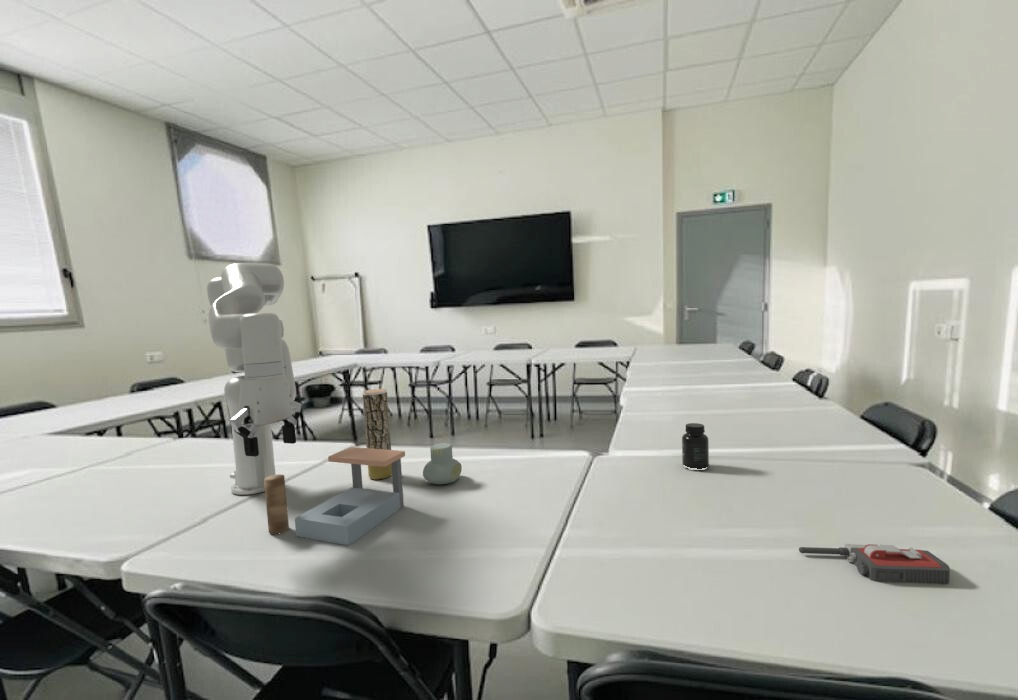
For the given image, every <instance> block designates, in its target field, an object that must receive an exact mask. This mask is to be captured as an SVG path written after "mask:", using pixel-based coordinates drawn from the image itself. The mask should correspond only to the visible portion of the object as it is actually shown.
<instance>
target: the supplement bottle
mask: <svg viewBox="0 0 1018 700" xmlns="http://www.w3.org/2000/svg"><path fill="white" fill-rule="evenodd" d="M709 442H710V441H709V437H708V436H707V435H706V434H705V425H704V424H702V423H698V422H697V423H696V422H691V423H689V422H688V423H686V424H685V433H684V434H683V435H682V437H681V452H682V453H681V456H682V458H681V459H682V466H683V465H685V466H687V467H690V468H697V469H702V468H706V467H708V466H709V467H710V455H709V454H710V452H709V449H710V448H709V446H710V445H709Z"/></svg>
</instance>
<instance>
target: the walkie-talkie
mask: <svg viewBox="0 0 1018 700" xmlns="http://www.w3.org/2000/svg"><path fill="white" fill-rule="evenodd" d="M798 552H799V553H800V554H812V555H813V554H814V555H815V554H816V555H817V554H818V555H840V556H846V558H847V562H848V563H851V564H853V565H854V566H855V567H856V569H857V571H858V573H859V574H860V575H861V576H866V577H867V579H869V580H870V581H872V582H875V583H876V582H879V583H880V582H881V583H904V584H906V583H908V584H914V583H915V584H927V585H928V584H932V585H937V584H938V585H948V584H949V583H950V571H951V569H950V566H949V564H947V563H946V562H944V561H943V560H942V559H940V558H939V557H937V556H936V555H934V553H931V551H929V550H924V549H916V548H914V547H909V548H908V549H907V548H905V549H904V548H898V547H897V546H895V545H893V544H880V545H878V544H874V543H873V544H871V543H870V544H853V543H852V544H851V543H845V544H844V547H842V546H840V547H838V548H837V547H814V546H813V547H812V546H811V547H810V546H806V547H804V546H800V547H799V548H798Z"/></svg>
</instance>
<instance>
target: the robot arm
mask: <svg viewBox="0 0 1018 700" xmlns="http://www.w3.org/2000/svg"><path fill="white" fill-rule="evenodd" d="M284 286H285V280H284V275H283V273H282V271H281V269H280V268H279V267H278V266H277V265H275V264H272V263H255V262H254V263H253V262H250V263H249V262H246V263H245V262H239V263H238V262H237V263H232V264H228V265H226V267H224V268H223V270H222V271H221V274H220V276H218V277H214V278H213V279H210V280H209V281H208V283H207V285H206V292H207V297H208V302H209V305H210V308H209V312H208V325H209V330H210V331H209V332H210V336H211V339H212V341H213V343H214V344H215V346H216V347H218V348H220V349H224V351H225V357H226V358H225V359H226V363H227V366H228V368H229V369H230V370H231V371H232V372H234V373H244V375H238V376H234V377H232V378H230V379H229V380H227V382H226V383H225V386H224V391H223V392H224V398H225V402H226V404H227V408H228V412H229V417H230V419H229V424H230V425H231V432H232V441H233V443H232V444H233V452H234V453H233V454H234V462H235V464H234V465H235V470H234V472H232V473H230V474H229V478H230V479H232V480H233V479H234V480H235V483H234V484H232V486H231V488H230V490H231V493H232V494H234V495H238V496H239V495H242V496H245V495H255V494H260V493H265V486H264V479H265V478H266V477H269V476H272V475H277V474H276V466H275V454H274V443H273V433H272V432H273V431H272V424H275V423H278V422H282V423H283V424H284V425H282V426H281V429H282V430H281V431H282V441H283V443H284V444H291V445H294V444H297V443H296V442H297V438H296V425H297V424H298V419H299V417H300V415H301V414H300V413H301V410H302V405H303V404H302V403H301V402H298V401H295V399H296V397H297V396H296V394H297V393H296V392H297V389H296V383H295V377H294V369H293V366H292V359H291V353H290V350H289V346H288V344H287V342H286V340H285V339H284V334H285V332H284V330H285V329H284V323H283V320H281V319H280V317H279V316H278V314H276V313H273V312H260V311H261V310H263V308H264V306H265V307H266V306H273V305H275V304H276V303H278V301H279V299H280V297H281V295H282V294H283V291H284V288H285V287H284Z"/></svg>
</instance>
